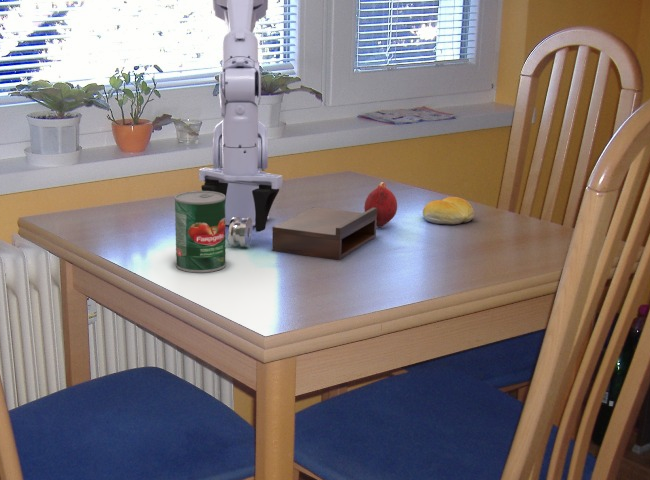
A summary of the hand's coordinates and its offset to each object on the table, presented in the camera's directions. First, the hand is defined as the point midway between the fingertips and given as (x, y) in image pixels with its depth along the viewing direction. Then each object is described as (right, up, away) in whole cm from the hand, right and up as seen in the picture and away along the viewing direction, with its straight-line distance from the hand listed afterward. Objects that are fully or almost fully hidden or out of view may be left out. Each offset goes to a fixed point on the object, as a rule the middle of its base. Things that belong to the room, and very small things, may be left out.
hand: (240, 227), depth 171 cm
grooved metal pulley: (0, -3, +1) cm, 3 cm away
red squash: (+25, +2, +13) cm, 28 cm away
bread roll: (+38, +4, +17) cm, 42 cm away
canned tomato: (-6, -8, -9) cm, 13 cm away
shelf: (+14, -2, +2) cm, 15 cm away
